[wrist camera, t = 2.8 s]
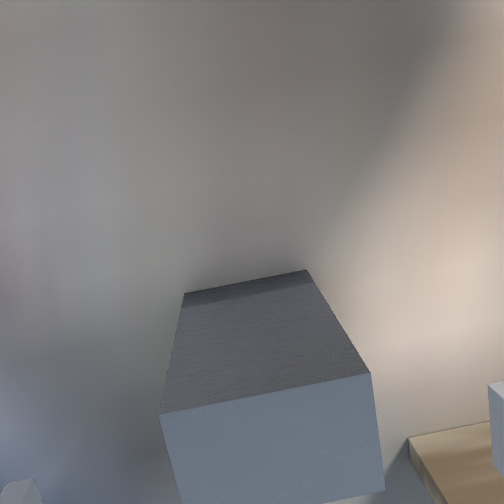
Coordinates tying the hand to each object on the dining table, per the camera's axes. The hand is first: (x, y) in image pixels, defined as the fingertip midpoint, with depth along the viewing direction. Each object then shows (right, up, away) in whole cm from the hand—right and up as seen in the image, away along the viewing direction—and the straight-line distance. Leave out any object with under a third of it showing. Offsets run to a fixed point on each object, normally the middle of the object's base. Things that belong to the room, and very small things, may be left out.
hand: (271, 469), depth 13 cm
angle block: (0, +1, +10) cm, 10 cm away
